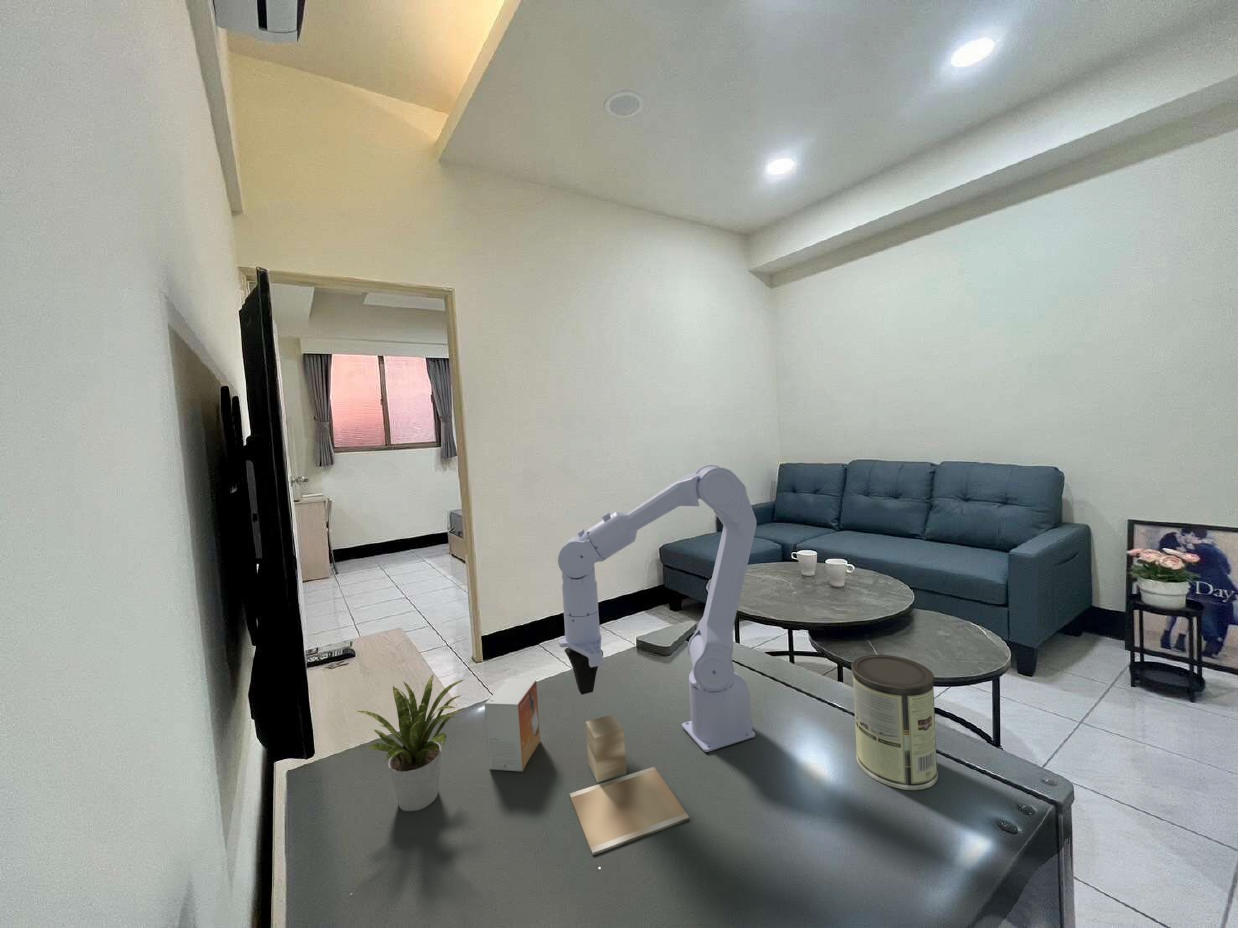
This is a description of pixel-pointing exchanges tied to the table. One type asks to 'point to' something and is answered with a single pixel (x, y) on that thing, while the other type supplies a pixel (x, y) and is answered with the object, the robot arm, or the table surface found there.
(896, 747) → the coffee can
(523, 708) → the small box
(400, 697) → the house plant
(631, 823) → the tan flat rectangular panel
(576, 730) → the table surface
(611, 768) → the beech block
